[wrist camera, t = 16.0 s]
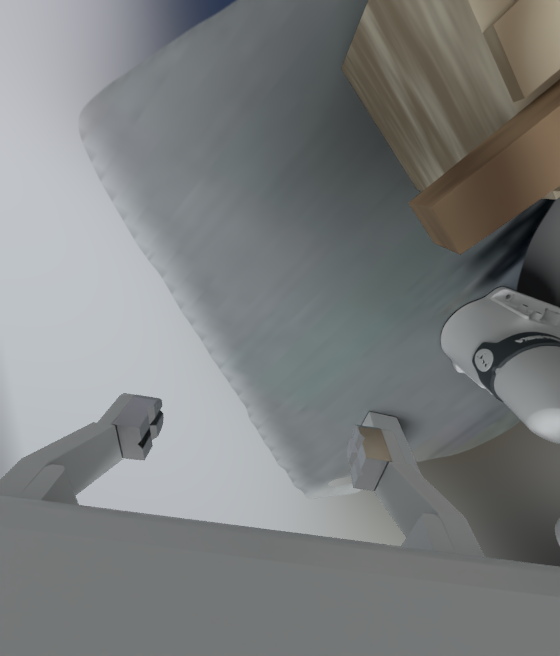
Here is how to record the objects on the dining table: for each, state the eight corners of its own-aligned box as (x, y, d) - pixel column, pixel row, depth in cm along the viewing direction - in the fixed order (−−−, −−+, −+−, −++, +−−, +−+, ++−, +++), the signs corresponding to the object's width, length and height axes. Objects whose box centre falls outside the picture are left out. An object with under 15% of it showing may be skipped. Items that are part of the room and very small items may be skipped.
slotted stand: (454, -59, 31) (957, -824, 8) (524, 102, 38) (918, -37, 14) (341, 68, 37) (423, -139, 13) (418, 190, 43) (568, 200, 19)
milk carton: (368, 410, 65) (393, 489, 48) (396, 417, 66) (431, 497, 49) (357, 431, 68) (377, 511, 52) (384, 436, 69) (413, 518, 52)
